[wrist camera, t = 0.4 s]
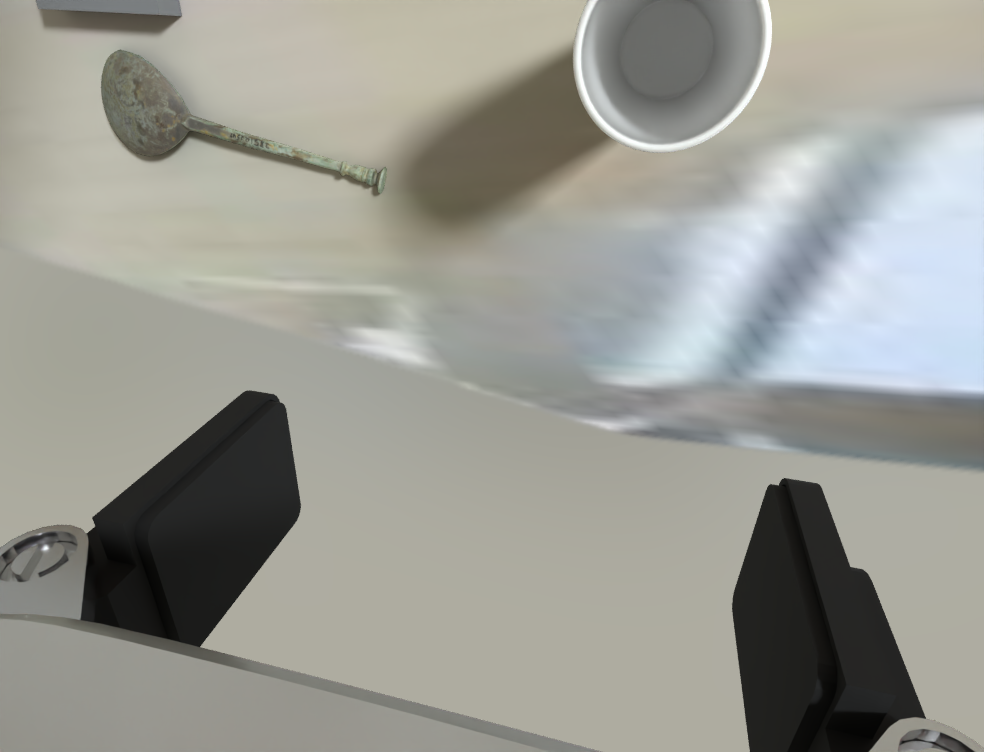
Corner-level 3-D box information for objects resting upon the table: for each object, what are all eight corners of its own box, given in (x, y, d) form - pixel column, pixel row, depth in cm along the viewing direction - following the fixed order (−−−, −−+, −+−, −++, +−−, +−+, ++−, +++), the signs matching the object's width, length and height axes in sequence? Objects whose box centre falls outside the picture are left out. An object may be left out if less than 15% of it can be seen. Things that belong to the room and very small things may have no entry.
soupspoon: (108, 36, 42) (118, 133, 46) (66, 38, 39) (80, 141, 43) (397, 131, 40) (384, 226, 43) (375, 140, 37) (362, 240, 41)
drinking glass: (628, 136, 36) (610, 186, 23) (585, 19, 34) (539, 1, 21) (746, 82, 34) (799, 103, 21) (708, -50, 31) (741, -117, 18)
